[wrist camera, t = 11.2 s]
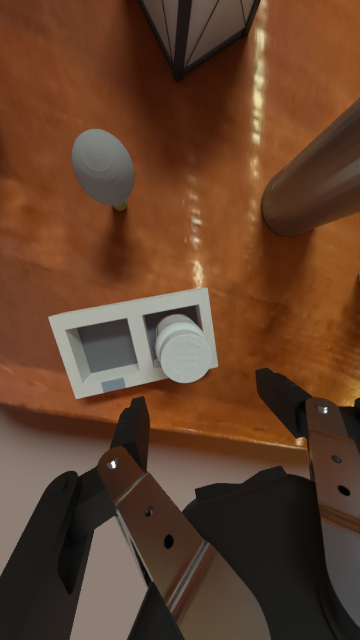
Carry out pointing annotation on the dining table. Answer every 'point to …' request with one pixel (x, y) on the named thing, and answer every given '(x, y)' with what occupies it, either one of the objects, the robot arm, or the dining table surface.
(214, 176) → the dining table surface
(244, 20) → the lantern
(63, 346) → the socket block
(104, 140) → the light bulb
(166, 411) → the dining table surface
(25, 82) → the dining table surface
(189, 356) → the pill bottle
